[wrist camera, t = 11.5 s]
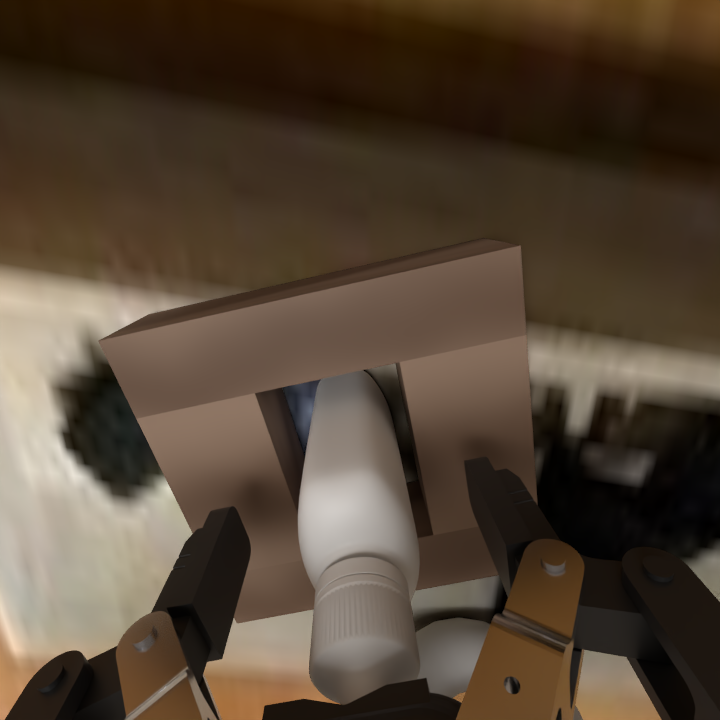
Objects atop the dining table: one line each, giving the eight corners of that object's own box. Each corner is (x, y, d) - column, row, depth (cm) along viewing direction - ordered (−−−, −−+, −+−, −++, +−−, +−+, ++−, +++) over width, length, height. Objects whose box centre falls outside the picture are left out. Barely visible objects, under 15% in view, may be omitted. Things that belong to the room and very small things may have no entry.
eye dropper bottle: (296, 460, 19) (223, 822, 8) (324, 356, 17) (281, 636, 6) (382, 479, 19) (429, 843, 8) (418, 380, 18) (544, 679, 6)
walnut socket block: (148, 314, 16) (98, 340, 13) (483, 238, 15) (520, 245, 12) (253, 559, 21) (237, 623, 18) (510, 510, 20) (541, 567, 17)
